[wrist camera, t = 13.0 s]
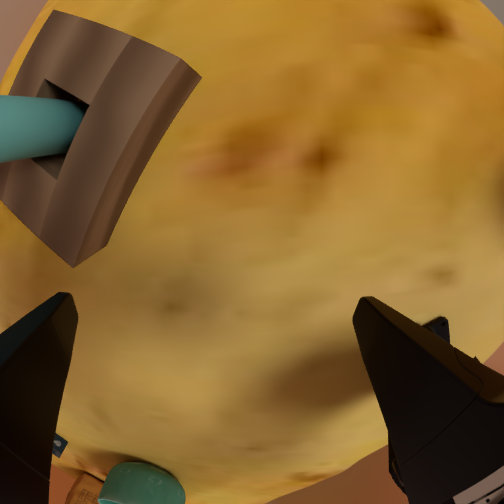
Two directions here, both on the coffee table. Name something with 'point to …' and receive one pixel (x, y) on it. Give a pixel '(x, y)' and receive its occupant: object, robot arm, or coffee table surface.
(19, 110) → the peg
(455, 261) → the coffee table surface
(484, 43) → the coffee table surface
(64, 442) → the watch
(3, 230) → the coffee table surface
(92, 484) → the coffee package
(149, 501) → the mug
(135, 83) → the hole block
